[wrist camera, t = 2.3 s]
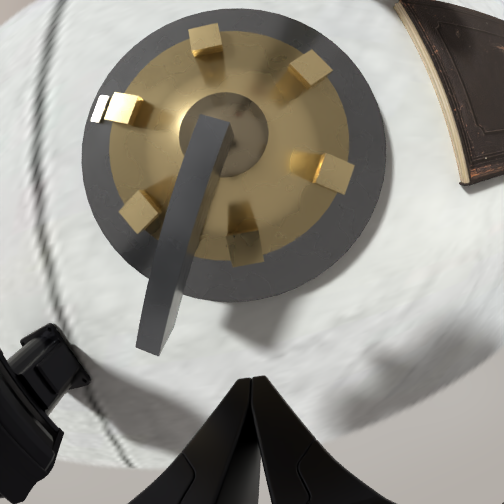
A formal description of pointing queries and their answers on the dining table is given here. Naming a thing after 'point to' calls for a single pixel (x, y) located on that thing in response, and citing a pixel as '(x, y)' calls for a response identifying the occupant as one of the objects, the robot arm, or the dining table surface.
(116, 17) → the dining table surface
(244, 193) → the ring nut
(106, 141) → the base
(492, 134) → the hardcover book
